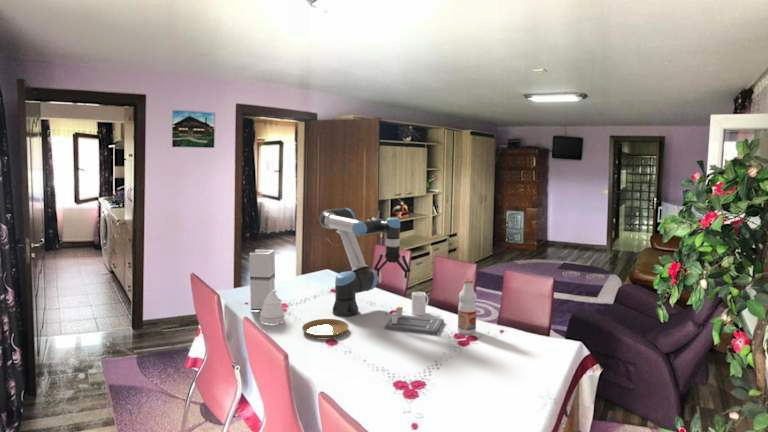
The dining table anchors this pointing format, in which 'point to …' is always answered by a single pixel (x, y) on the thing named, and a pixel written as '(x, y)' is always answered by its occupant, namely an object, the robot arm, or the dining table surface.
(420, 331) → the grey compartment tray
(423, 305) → the mug
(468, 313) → the fruit juice
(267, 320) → the honey pot
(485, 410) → the dining table surface
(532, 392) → the dining table surface
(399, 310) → the fader
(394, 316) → the fader
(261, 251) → the tall grey box
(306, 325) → the plant saucer
